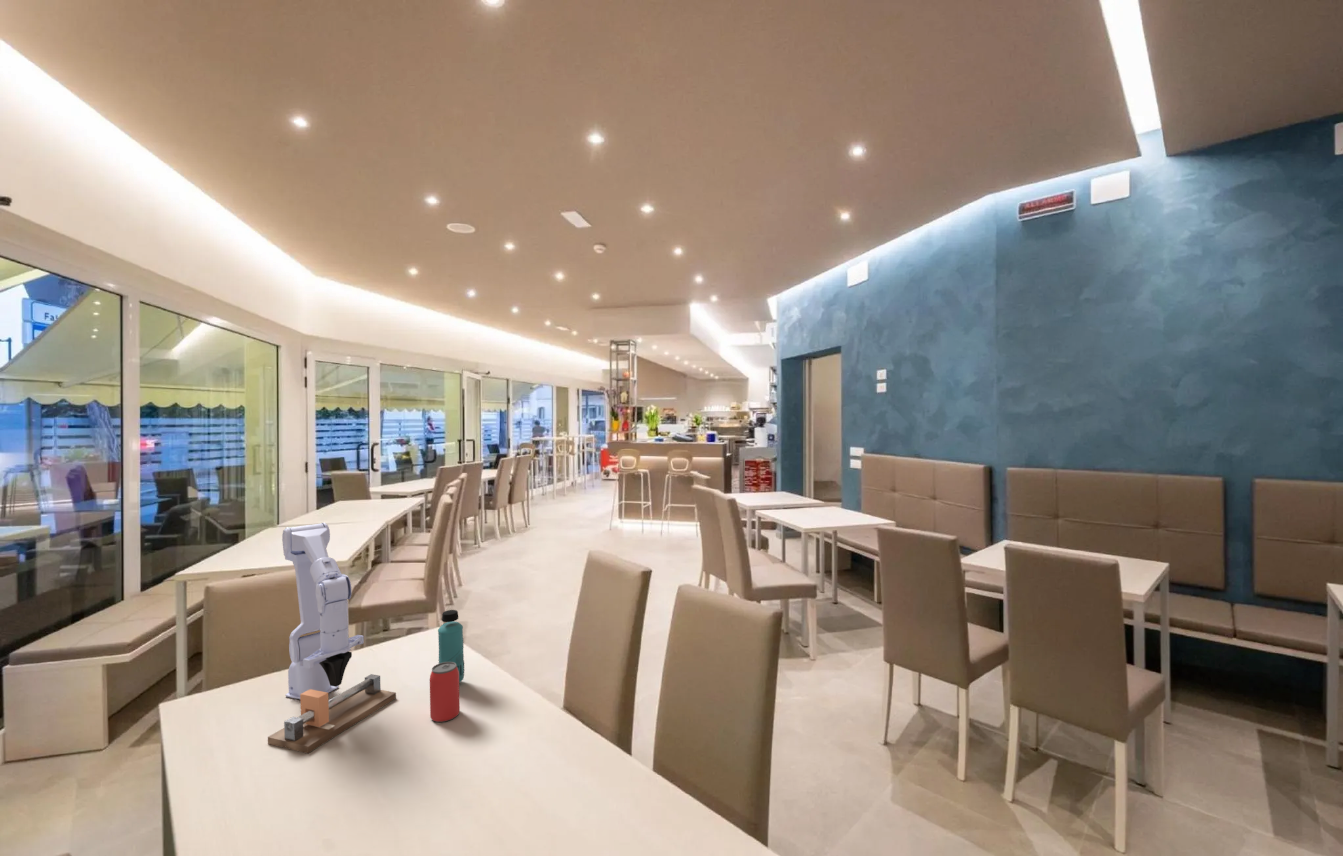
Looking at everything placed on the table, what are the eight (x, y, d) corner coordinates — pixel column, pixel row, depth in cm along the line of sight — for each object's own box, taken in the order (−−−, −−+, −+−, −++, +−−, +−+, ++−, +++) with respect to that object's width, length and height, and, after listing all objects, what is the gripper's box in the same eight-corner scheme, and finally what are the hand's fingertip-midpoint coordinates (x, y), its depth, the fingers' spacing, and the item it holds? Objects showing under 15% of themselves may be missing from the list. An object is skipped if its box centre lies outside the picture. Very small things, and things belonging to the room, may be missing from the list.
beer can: (464, 709, 135) (463, 661, 134) (451, 724, 128) (450, 673, 128) (439, 708, 135) (438, 660, 135) (424, 722, 129) (423, 672, 129)
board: (267, 743, 121) (267, 736, 121) (359, 691, 144) (359, 685, 144) (307, 753, 117) (307, 746, 117) (395, 698, 140) (395, 692, 140)
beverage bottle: (455, 692, 143) (454, 616, 143) (433, 689, 144) (431, 615, 144) (469, 680, 149) (468, 608, 149) (448, 678, 151) (446, 606, 150)
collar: (301, 723, 125) (300, 694, 125) (310, 717, 127) (310, 689, 127) (319, 727, 123) (318, 697, 123) (328, 721, 126) (328, 692, 126)
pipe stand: (284, 739, 120) (284, 721, 120) (371, 689, 142) (371, 674, 142) (294, 741, 119) (294, 723, 119) (380, 690, 141) (380, 675, 141)
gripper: (318, 642, 122) (320, 702, 122) (372, 619, 136) (373, 673, 136) (295, 639, 124) (297, 697, 125) (351, 616, 138) (352, 669, 138)
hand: (335, 684), depth 131 cm, fingers closed
